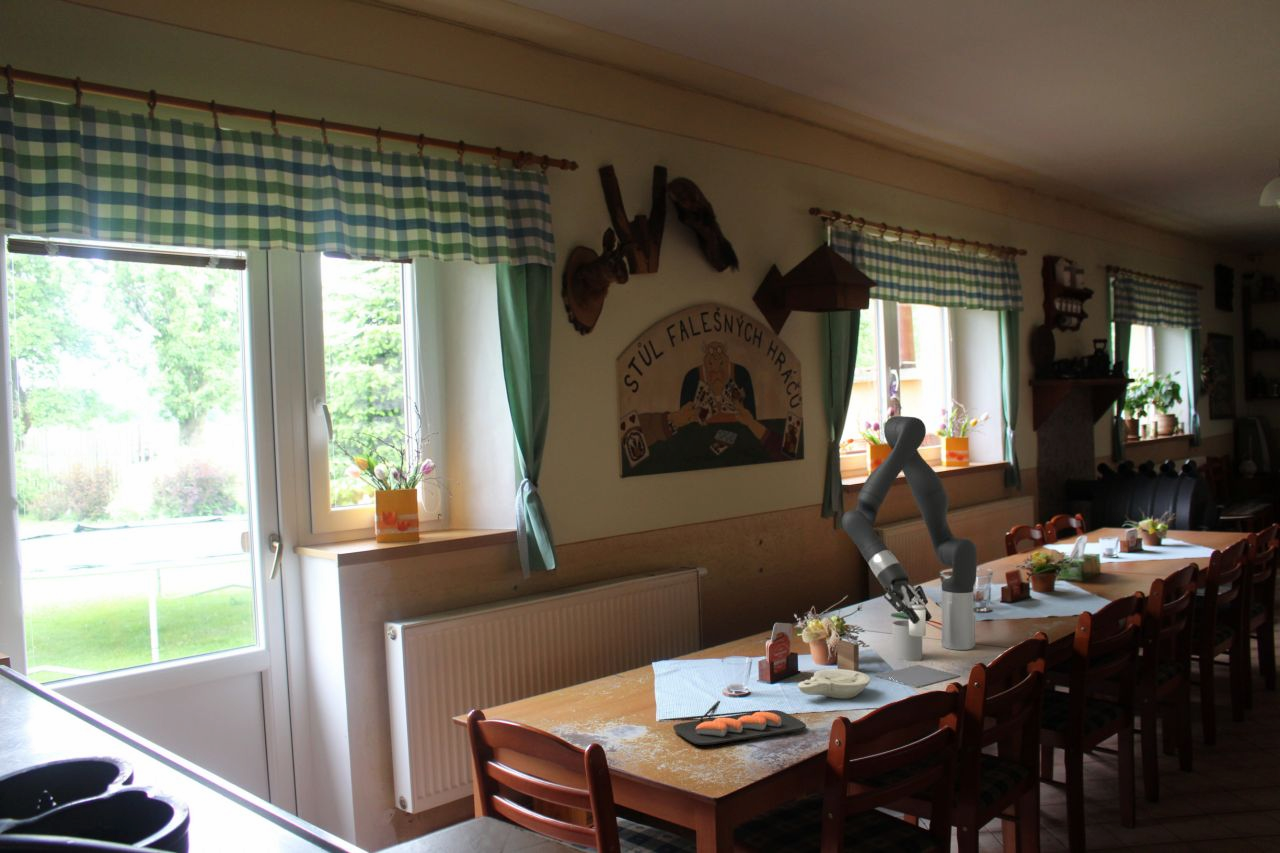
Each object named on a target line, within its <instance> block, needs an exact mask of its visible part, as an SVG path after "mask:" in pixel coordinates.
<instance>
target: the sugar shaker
mask: <svg viewBox="0 0 1280 853" xmlns="http://www.w3.org/2000/svg"><path fill="white" fill-rule="evenodd" d="M910 605H911V608H913V610H914V611H915V613H916V614H917V616H918V617H919V619H920V620H919V621H918V622H917V623H916V624H913V623H912V621H911V620H910V619H909V618H908V621H909V635H911V636H922V637H925V636H926V634H927V630H926V628H927V627H926V626H927V624H926V623H927V622H926V609H925V607H926V605H923V604H919V603H917V604H910Z"/></svg>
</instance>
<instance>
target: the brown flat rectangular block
mask: <svg viewBox="0 0 1280 853" xmlns="http://www.w3.org/2000/svg"><path fill="white" fill-rule="evenodd" d="M836 643H837V646H836V647H837V669H844V670H852V671H857V672H860V664H859V663H860V662H859V660H860V656H859V655H860V653H859V651H860V648H859V647H860V645H859V644H858V643H854V642H851V641H847V640H837V642H836Z"/></svg>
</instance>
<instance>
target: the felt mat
mask: <svg viewBox="0 0 1280 853" xmlns="http://www.w3.org/2000/svg"><path fill="white" fill-rule="evenodd" d="M876 676H879V677H882V678H881V679H883V678H886V679H885V680H887V679H889V677H890V678H891V677H892V678H893V679H894V680H895V681H896V680H897V681H898V682H902V683H904V684H908V685H911V686H914V687H913V688H915V687H919V688H921V687H920V686H923V687H926V686H930V685H934V684H937V683H941V682H944V681H945V682H946V681H948V680H949V681H950V680H953V679H956V678H959V677H961V674H960V675H959V674H957V673H952V672H948V671H945V670H941V669H937V668H932V667H929V666H925V665H922V664H915V665H912V666H908V667H903V668H900V669H895V670H892V671H887V672H883V673H879V674H875V676H874V677H876ZM879 677H878V678H879ZM892 678H891V680H893V679H892ZM904 684H903V685H904ZM908 685H907V686H908ZM911 686H910V687H911Z"/></svg>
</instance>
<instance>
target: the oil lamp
mask: <svg viewBox="0 0 1280 853" xmlns="http://www.w3.org/2000/svg"><path fill="white" fill-rule="evenodd" d="M870 682H871V678H870V676H869V675H867V674H866V673H863V672H860V671H859V672H857V671H852V670H844V669H838V668H830V669H829V668H828V669H827V668H826V669H819V670H816V671H815V672H814V673H813V676H811V677H810V679H805V680H803V681H799V683H797V687H798V690H800V692H801V693H803V694H805V695H809V696H824V697H828V698H834V699H846V700H847V699H852V698H854V697H856V696H857V695H858V694H860V693H861V692H862V691H863V690H864V689H866V687H868V686H869V684H870Z"/></svg>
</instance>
